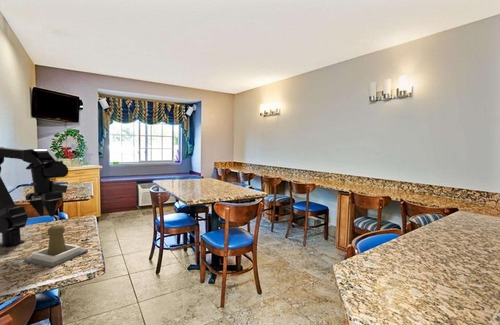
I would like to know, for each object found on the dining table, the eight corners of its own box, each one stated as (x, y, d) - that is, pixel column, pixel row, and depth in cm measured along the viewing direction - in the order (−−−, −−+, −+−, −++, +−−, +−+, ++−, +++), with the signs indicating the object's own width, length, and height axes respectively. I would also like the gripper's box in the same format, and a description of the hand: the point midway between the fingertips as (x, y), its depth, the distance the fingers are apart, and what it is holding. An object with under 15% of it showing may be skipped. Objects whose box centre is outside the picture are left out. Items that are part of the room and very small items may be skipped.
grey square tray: (24, 261, 94) (24, 254, 94) (62, 246, 108) (62, 240, 108) (51, 267, 90) (51, 260, 90) (87, 251, 103) (87, 245, 103)
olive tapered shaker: (48, 259, 95) (47, 230, 94) (45, 254, 99) (44, 226, 98) (68, 254, 99) (67, 226, 98) (64, 249, 103) (63, 222, 102)
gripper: (74, 175, 108) (79, 211, 109) (53, 177, 118) (57, 210, 119) (42, 179, 99) (48, 219, 100) (22, 180, 108) (28, 217, 109)
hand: (46, 216), depth 107 cm, fingers open, 9 cm apart
